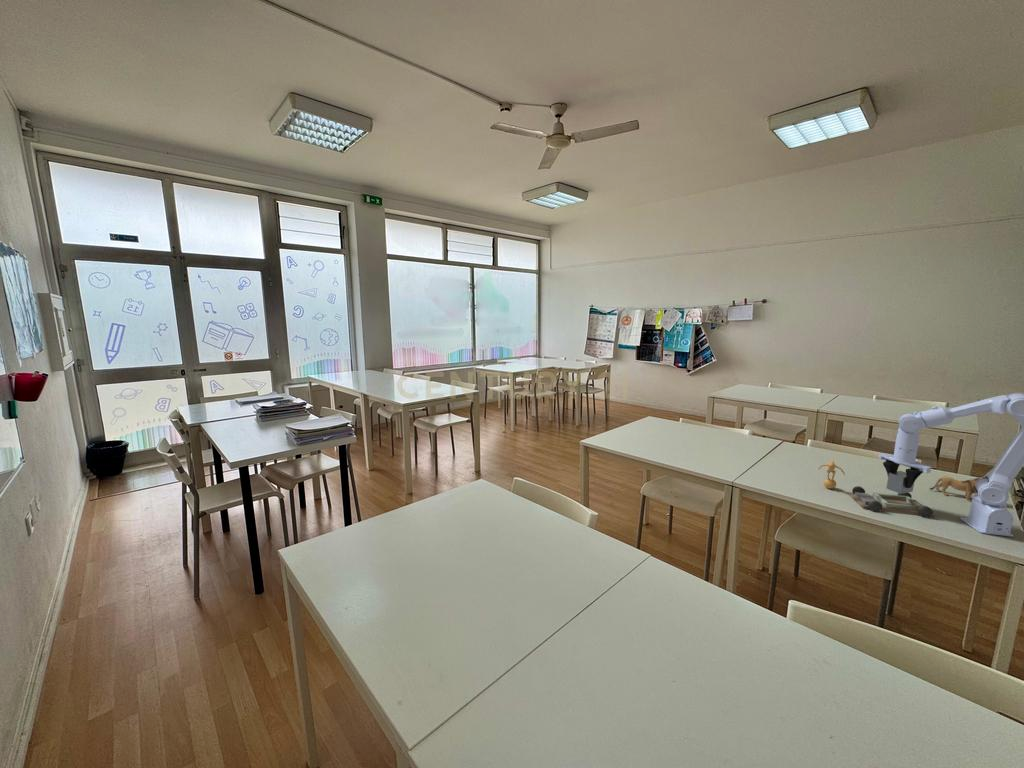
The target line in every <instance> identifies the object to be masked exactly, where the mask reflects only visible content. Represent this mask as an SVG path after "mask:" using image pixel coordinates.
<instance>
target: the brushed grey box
mask: <svg viewBox="0 0 1024 768" xmlns="http://www.w3.org/2000/svg"><path fill="white" fill-rule="evenodd" d="M905 483H906V471H902V470H899V471H898V470H897V472H891V473H889V476H888V475H887V482H886V489H887V490H888V491H889V490H890V491H892V492H895V493H897V494H898V493H900V494H903V493H913V491H914V486H915V482H914V483H913V485H912V487H911V488H905Z"/></svg>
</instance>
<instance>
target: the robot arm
mask: <svg viewBox="0 0 1024 768" xmlns="http://www.w3.org/2000/svg"><path fill="white" fill-rule="evenodd" d="M989 412H990V413H996V414H1001V415H1005V413H1006V412H1007V413H1008V414H1009V415H1010V416H1012V417H1013V418H1015V419H1016V420H1017V422H1018V423H1019V425H1020V426H1021V427H1020V428H1019V430H1018V431H1017V433H1016V434H1015V436H1014V437H1013V439H1012V440H1011V441H1010V443H1009V445H1007V447H1006V449H1005V450H1004V452H1003V453H1002V454H1001V456H1000V458H999V459H998V460H997V462H996V463H995V465H994V466H993V467H992V468H991V470H989V471H988V472H986V474H985V475H984V476H982V477H981V478H980V477H979V478H980V479H978V480H977V481H976V483H975V487H976V489H977V491H978V493H977V494H972V497H971V498H972V499H971V500H972V502H971V503H970V509H969V513H968V517H960V520H961V521H963V522H964V523H965V524H968V525H969V526H970V527H971V528H973V529H974V530H976V531H977V532H979V533H980V534H985V535H986V534H987V535H995V536H1005V537H1014V534H1012V533H1011V531H1012V527H1013V522H1014V516H1013V513H1012V512H1010V510H1008V508H1007V505H1008V503H1007V502H1008V501H1009V498H1010V495H1009V492H1010V490H1011V489H1012V485H1013V482H1014V480H1015V478H1016V477H1017V475H1018V474H1019V472H1020V471H1021V470H1022V468H1023V467H1024V393H1021V392H1014V393H1010V394H1004V395H997V396H992V397H989V398H985V399H982V400H981V399H980V400H978V401H974V402H971V403H970V402H969V403H967V404H962V405H959V406H956V407H952V408H951V407H950V408H948V407H944V406H939V407H938V406H937V405H935V406H932V407H931V409H927V410H923V411H914V412H913V413H906V414H903V415H901V416H900V417H899V419H898V426H899V427H898V429H897V434H896V439H895V444H894V449H893V455H892V454H888V453H884V452H881V453H879V454H878V459H879V460H884V461H883V462H882V465H883V467H884V469H885V472H886V475H887V477H888V476H889V473H891V472H897V471H898V469H899V467H900V466H904V467H907V468H906V469H905V472H906V483H905V488H911V487H912V485H913V483H914V484H915V481H916V480H917V479H918V478H919V477H920V476H921V475H922V474H923V473H924V474H930V473H931V470H932V467H931V466H928V465H926V464H923V463H921V462H918V461H916V459H917V454H918V448H919V444H920V435H919V434H920V431H922V429H929V428H930V429H931V428H935V427H939V426H943V425H944V426H945V425H948V424H951V423H952V422H953V421H954V420H955V419H958V418H962V417H963V418H964V417H967V416H968V417H969V416H972V415H978V414H984V413H989Z"/></svg>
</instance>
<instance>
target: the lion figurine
mask: <svg viewBox="0 0 1024 768" xmlns="http://www.w3.org/2000/svg"><path fill="white" fill-rule="evenodd" d="M980 478H982V477H975V478H973V479H967V480H958V479H954V478H952V477H950V476H942V477H940V478H938V480H936V481H935V482H936V483H935V484H934V485H933V487H930V488H929V490H932V491H933V490H936V492H942V494H943V495H944V496H949V493H947V492H946V490H947V489H948V488H949V486H950V487H951V488H953V489H954V490H956V491H959V492H965V495H964V497H965V499H966V500H967V501H968V502H971V503H972V499H971V498H972V497H973V495H975V494H977V493H978V491H977V489H976V487H975V483H976V481H977V480H978V479H980ZM940 488H942V489H940Z"/></svg>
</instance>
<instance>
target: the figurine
mask: <svg viewBox="0 0 1024 768" xmlns="http://www.w3.org/2000/svg"><path fill="white" fill-rule="evenodd" d="M826 466H827V469H826V474H827V475H826V476H827V478H826V479H824V480H823V485H824V487H826V488H827V489H834V488H836V487H837V482H836V480H835V479H834V478H835V475H836V472H837V471H836V470H835V469H836V468H837V469H838V470H840V472H842V474H843V475H844V476H845V471H843V468H841V467H840V466H838V465H837V464H835V462H834V460H831V461H830V462H828V463H824V464H821V465H820V466H819V467H818V470H820V469H821V468H822V467H826ZM830 474H832V475H831V478H830Z"/></svg>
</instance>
